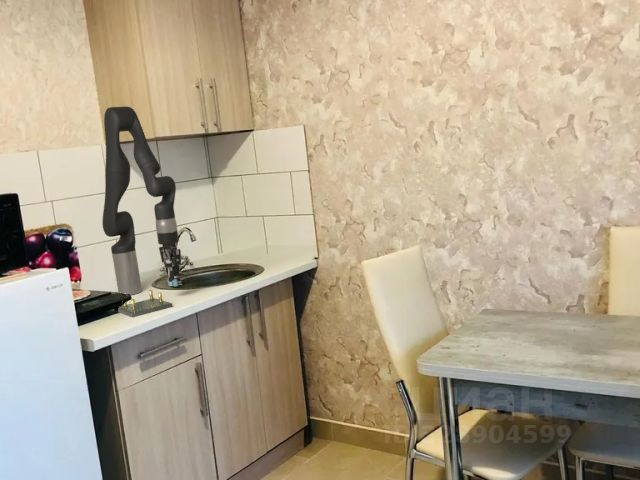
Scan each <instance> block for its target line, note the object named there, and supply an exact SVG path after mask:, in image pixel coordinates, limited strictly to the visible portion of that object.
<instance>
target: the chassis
mask: <svg viewBox="0 0 640 480" xmlns="http://www.w3.org/2000/svg"><path fill="white" fill-rule="evenodd" d="M153 292H154V291H153V289H150V290H148V294H149V299H145V300H140V301H137V302H135V299H134V298H133V299H130V303H129V304H127V303H128V302H127V301H126V302H125V303H124V304H123V303H122V306H121V305H120V306H121V307H120V306H118V307H119V308H118V312H117V313H119V314H122V315H125V316H128V317H131V318H135V317H140V316H142V315H147V314H151V313H154V312H158V311H162V310H166V309H169V308H173V303H172V302H169V301H166V300H163V295H162V292H157V295H158V298H156V297H154V294H153Z"/></svg>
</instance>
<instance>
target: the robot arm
mask: <svg viewBox="0 0 640 480" xmlns="http://www.w3.org/2000/svg"><path fill="white" fill-rule="evenodd" d="M103 117H104V118H103V119H104V120H103V123H104V126H103V127H104V136H105V169H104V171H105V175H104V177H105V180H104V181H105V182H104V183H105V187H104V191H105V192H104V194H105V195H104V205H103V211H102V213H103V214H102V229H103V233H104V234H105V235H106V236H107V237H110V238H113V237H118V236H119V239H118V241H117V242H115V243H114V244H113V245H111V249H110V250H111V256H112V262H113V267H114V274H115V280H116V286H117V292H121V293H126V294H130V295H129V296H131V295H137V294H139V293H142V292H143V288H142V282H141V275H140V269H139V262H138V257H137V251H136V244H137V243H136V234H135V225H134V224H135V223H134V219H133V217H132V214H131V213H130V212H128V211H126V210H123V211H118V209H119V204H120V202H121V200H122V198H123V196H124V194H125V193H126V191H127V189H128V187H129V186H130V183H131V165H130V161H129V160H128V157H127V155H126V154H125V153H124V150H123V148H122V146H121V141H120V132H128V133H129V134H130V135H131V137H132V139H133V158H134V160H135V163H136V165H137V167H138V169H139V171H140V172H141V175H142V177H143V178H142V179H143V181H144V185H145V189H146V191H147V194H149V196H152V197H153V198H159V197H161V201H159V202H158V203H156V204H155V205H154V207H153V209H154V217H155V229H156V236H157V243H158V244H159V245H161V246H159V247H158V250H159V254H160V259H161V262H162V263H163V264H164V263H165V262H166V260H167V259H169V261H171V264H172V270H173V276H177V277H178V276H180V268H179V266H180V265H182V256H181V255H182V252H181V248H177V246H176V243H177V244H178V243H179V241H180V240H179V234H178V232H179V230H178V225H177V220H176V216H175V215H176V214H175V209H174V207H175V206H174V205H175V200H176V199H175V198H176V191H177V190H176V189H177V187H176V182H175V180H174V178H173V177H171V176H168V175H166V176H165V175H164V176H156V175H158V174H159V173H160V171H161V165H160V163H159V162H158V160H157V158H156V156H155V155H154V153H153V151H152V149H151V147H150V145H149V142H148V141H147V138H146V135H145V132H144V129H143V126H142V125H141V122H140V119H139V117H138V114H137V112H136V111H135V109H133V107H131V106H110V107H108V108H107V109H105V112H104V115H103ZM173 261H174V262H173ZM165 272H166V274H167V275H169V274H168V268H167V267H165Z"/></svg>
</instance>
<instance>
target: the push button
mask: <svg viewBox="0 0 640 480" xmlns="http://www.w3.org/2000/svg"><path fill="white" fill-rule="evenodd" d="M173 262H174V261H173ZM163 265H164V267H165V268H166V267H167V268H168V274H167V275H168V278H167V285H168V286H169V287H179V286H183V284H182V283H181V278H179V277H178V276H173V270H172V264H171V261H169V259H167V260H166V262H165V263H164V262H163Z"/></svg>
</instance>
